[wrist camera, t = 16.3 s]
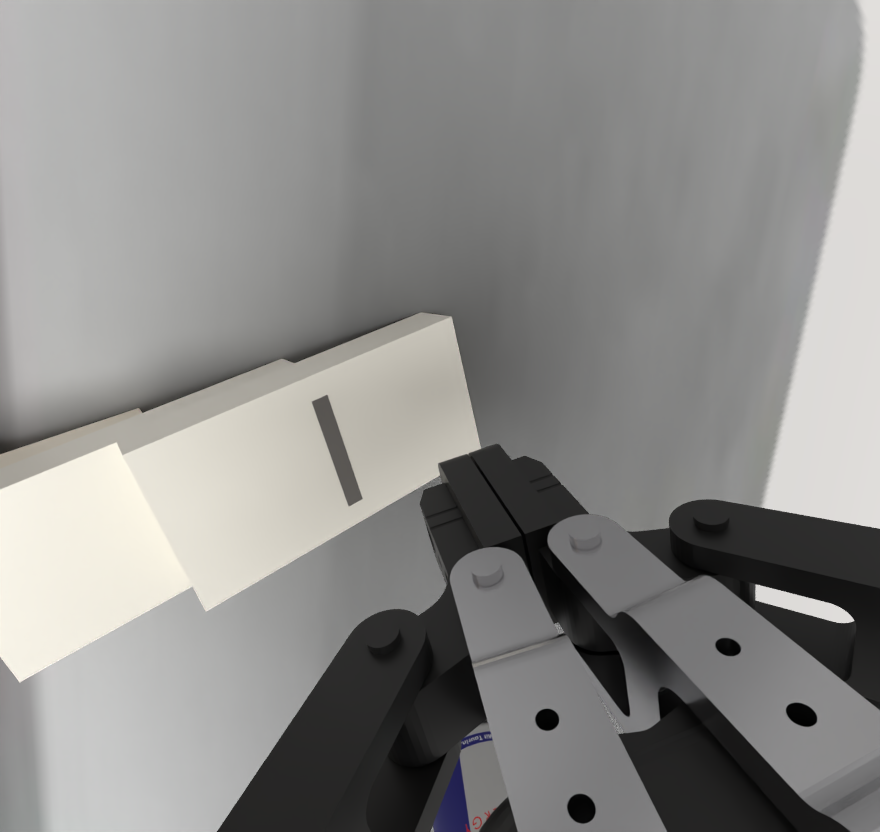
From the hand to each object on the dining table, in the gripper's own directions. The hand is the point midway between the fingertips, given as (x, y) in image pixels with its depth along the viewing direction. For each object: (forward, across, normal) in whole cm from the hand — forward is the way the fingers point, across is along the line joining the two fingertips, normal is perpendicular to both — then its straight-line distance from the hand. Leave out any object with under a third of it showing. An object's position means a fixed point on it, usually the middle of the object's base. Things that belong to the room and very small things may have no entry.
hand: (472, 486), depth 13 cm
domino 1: (+7, +4, 0) cm, 8 cm away
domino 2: (+7, -1, 0) cm, 7 cm away
